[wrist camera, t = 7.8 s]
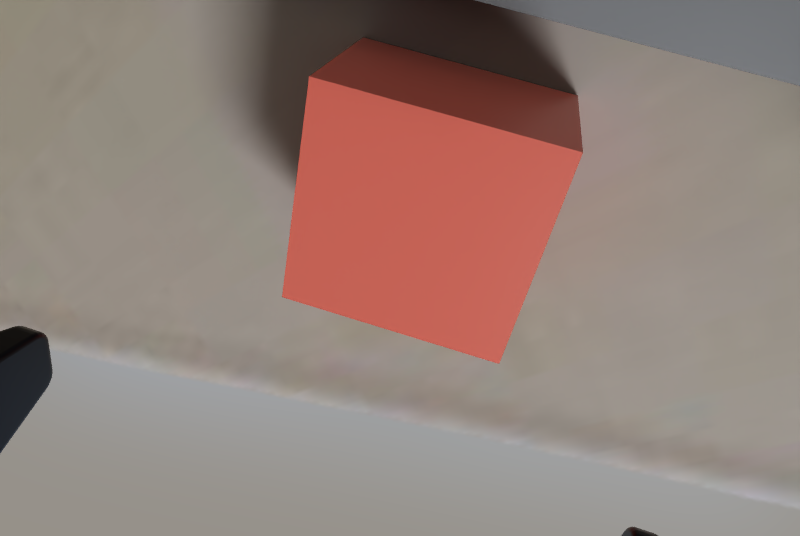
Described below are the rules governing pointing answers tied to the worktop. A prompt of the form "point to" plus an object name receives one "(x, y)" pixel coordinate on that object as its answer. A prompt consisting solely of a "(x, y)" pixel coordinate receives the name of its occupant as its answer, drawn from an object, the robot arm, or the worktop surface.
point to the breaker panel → (691, 28)
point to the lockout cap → (427, 194)
